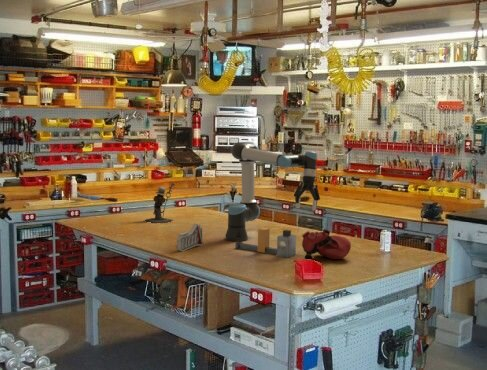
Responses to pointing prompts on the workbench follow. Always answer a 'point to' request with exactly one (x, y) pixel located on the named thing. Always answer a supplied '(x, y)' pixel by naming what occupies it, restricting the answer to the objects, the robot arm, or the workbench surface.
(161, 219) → the figurine
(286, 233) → the button
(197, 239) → the decorative sign
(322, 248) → the red backpack
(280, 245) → the cabinet
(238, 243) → the guide rail
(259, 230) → the carriage
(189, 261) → the workbench surface
